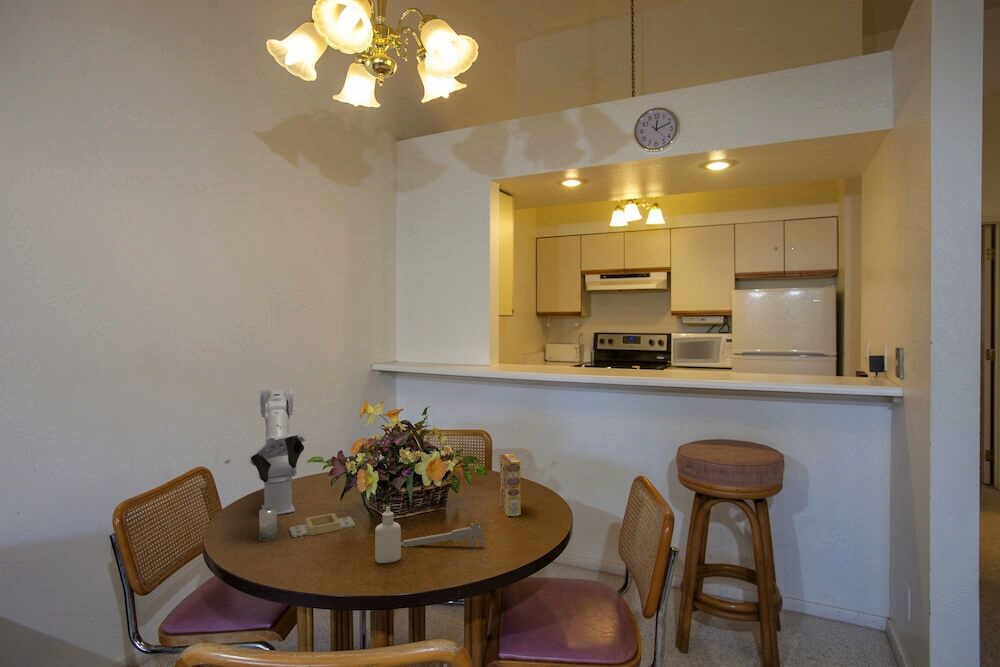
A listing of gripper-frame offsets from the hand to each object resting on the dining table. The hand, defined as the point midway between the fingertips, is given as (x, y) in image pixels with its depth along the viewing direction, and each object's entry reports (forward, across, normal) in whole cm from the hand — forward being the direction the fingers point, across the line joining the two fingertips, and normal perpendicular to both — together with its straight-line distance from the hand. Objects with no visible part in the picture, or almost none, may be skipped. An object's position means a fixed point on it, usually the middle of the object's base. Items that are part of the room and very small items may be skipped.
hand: (278, 472), depth 129 cm
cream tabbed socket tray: (+7, +1, +19) cm, 20 cm away
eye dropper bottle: (+28, +18, +14) cm, 36 cm away
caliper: (+26, +28, +22) cm, 44 cm away
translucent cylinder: (+8, -10, +11) cm, 17 cm away
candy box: (+14, +46, +41) cm, 63 cm away
